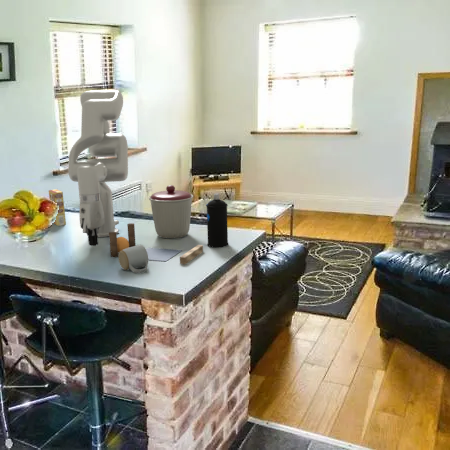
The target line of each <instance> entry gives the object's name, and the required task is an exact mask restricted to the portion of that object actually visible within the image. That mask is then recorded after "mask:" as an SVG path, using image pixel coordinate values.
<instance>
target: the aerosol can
mask: <svg viewBox="0 0 450 450" xmlns="http://www.w3.org/2000/svg"><path fill="white" fill-rule="evenodd" d="M205 206H206V225H207V227H206V228H207V230H206V231H207V244H206V245H207V247H209V248H214V249H219V248H220V249H221V248H225V247H228V246H229V242H228V241H229V239H228V238H229V237H228V234H229V233H228V203H227V202H226V201H224V200H223V199H220V193H213V199H212V200H210V201H208V202H207V204H205Z"/></svg>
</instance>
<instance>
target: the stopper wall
mask: <svg viewBox="0 0 450 450" xmlns="http://www.w3.org/2000/svg"><path fill="white" fill-rule="evenodd" d="M203 252H204V245H203V244H197V245H195V246H194V247H193V248H191V249H190V250H188V251H187V252H185V253H184V254H182V255H180V256H179V265H187V264H188V263H189V262H191V261H192V260H194V259H195V258H196V257H198V256H199V255H200V254H202V253H203Z"/></svg>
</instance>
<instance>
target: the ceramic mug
mask: <svg viewBox="0 0 450 450" xmlns="http://www.w3.org/2000/svg"><path fill="white" fill-rule="evenodd" d="M146 249H147V248H146V247H145V246H144V245H143V244H137V245H136V246H133V247H129V248H126V249H123V250H121V251H120V252H119V253H118V257H117V258H118V262H119V265H120V267H121V268H122V270H125V271H132V272H134V273H135V274H144V273H145V272H146V271H148V267H149V265H148V264H149V260H148V254H147V251H146ZM140 268H141V269H140Z"/></svg>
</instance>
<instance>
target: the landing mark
mask: <svg viewBox="0 0 450 450" xmlns="http://www.w3.org/2000/svg"><path fill="white" fill-rule="evenodd" d="M145 249H146V251H147V254H148V261H153V262H154V261H155V262H167V261H169V260H171V259H172V258H173V257H175V256H177V255H178V254H179V253H181V252H183V250H182V249H173V248H172V249H171V248H159V247H151V246H150V247H147V248H145Z"/></svg>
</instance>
